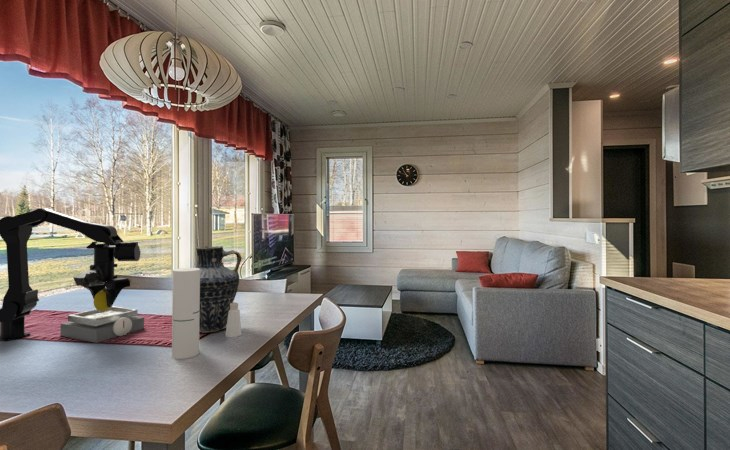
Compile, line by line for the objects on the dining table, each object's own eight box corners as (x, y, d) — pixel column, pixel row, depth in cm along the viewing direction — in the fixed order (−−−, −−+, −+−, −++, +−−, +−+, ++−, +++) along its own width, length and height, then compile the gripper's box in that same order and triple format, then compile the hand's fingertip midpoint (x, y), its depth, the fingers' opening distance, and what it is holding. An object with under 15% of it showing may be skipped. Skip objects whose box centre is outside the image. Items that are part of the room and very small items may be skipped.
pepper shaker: (244, 332, 122) (245, 301, 122) (237, 338, 117) (237, 305, 117) (230, 332, 123) (230, 301, 123) (222, 337, 117) (222, 304, 117)
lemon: (102, 314, 117) (103, 291, 117) (89, 313, 118) (89, 290, 118) (117, 310, 123) (117, 288, 123) (104, 309, 124) (104, 287, 124)
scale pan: (67, 321, 117) (67, 315, 116) (110, 311, 130) (111, 305, 130) (95, 326, 112) (95, 320, 112) (137, 315, 125) (137, 309, 125)
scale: (60, 335, 116) (60, 317, 116) (110, 322, 131) (110, 306, 131) (98, 343, 110) (98, 324, 110) (146, 328, 125) (146, 312, 125)
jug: (187, 342, 112) (188, 249, 111) (172, 327, 126) (173, 245, 126) (249, 330, 125) (250, 247, 125) (229, 318, 140) (230, 243, 140)
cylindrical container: (204, 351, 105) (205, 268, 104) (185, 360, 98) (186, 272, 97) (186, 348, 107) (186, 267, 107) (166, 356, 100) (166, 270, 100)
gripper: (60, 262, 116) (59, 308, 116) (97, 266, 110) (96, 315, 110) (95, 259, 126) (95, 301, 127) (131, 262, 120) (131, 307, 120)
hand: (103, 306), depth 121 cm, fingers closed on lemon, 5 cm apart
